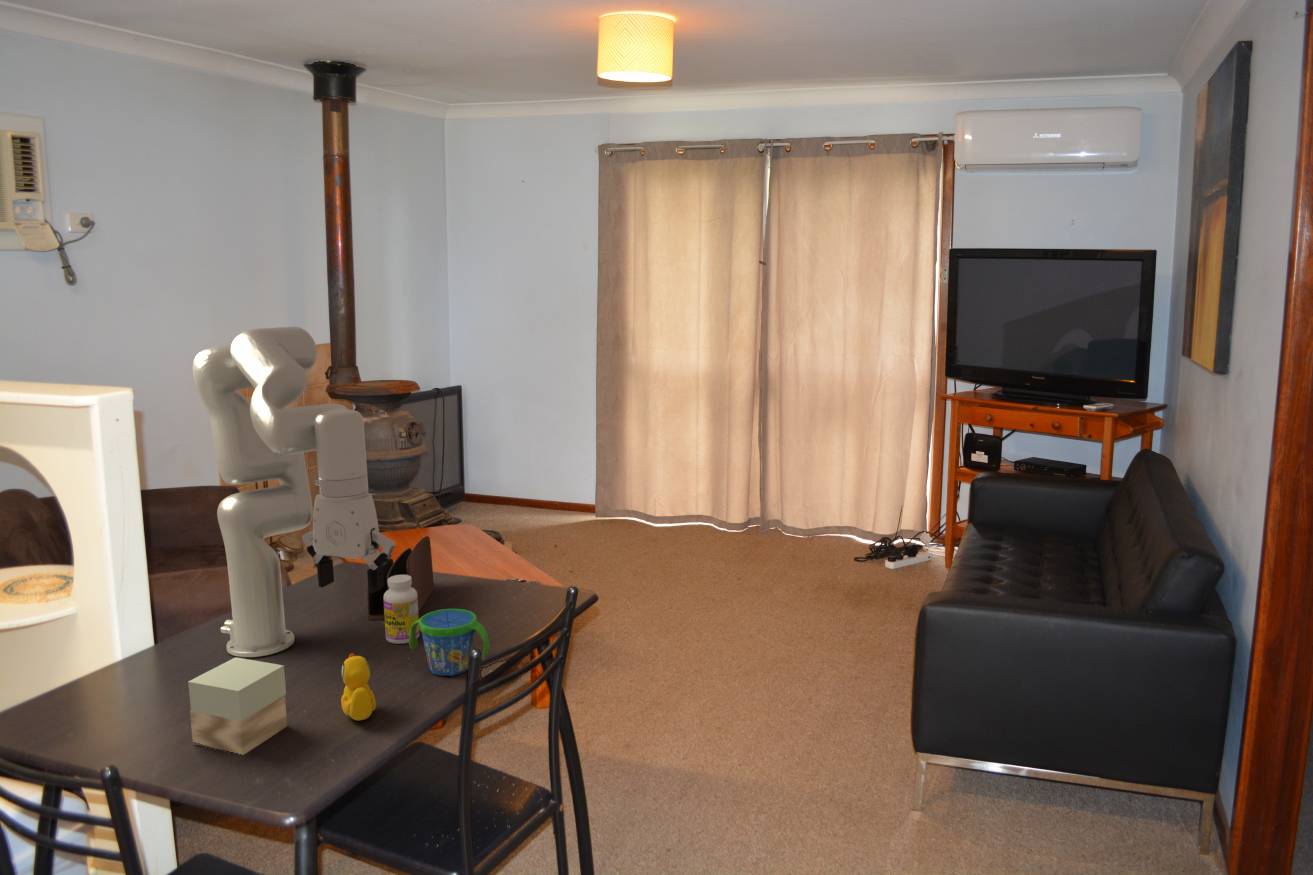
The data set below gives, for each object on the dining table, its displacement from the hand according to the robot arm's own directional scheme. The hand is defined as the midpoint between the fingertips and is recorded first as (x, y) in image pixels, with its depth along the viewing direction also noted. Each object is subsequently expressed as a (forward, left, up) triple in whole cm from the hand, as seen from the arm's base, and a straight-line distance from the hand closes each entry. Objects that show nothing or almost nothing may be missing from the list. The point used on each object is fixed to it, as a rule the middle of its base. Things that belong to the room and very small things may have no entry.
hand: (351, 587), depth 160 cm
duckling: (0, 0, -23) cm, 23 cm away
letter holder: (-24, +48, -23) cm, 59 cm away
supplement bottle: (-12, +31, -23) cm, 40 cm away
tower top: (-14, -12, -17) cm, 25 cm away
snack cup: (+5, +21, -23) cm, 31 cm away
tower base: (-14, -12, -23) cm, 30 cm away
